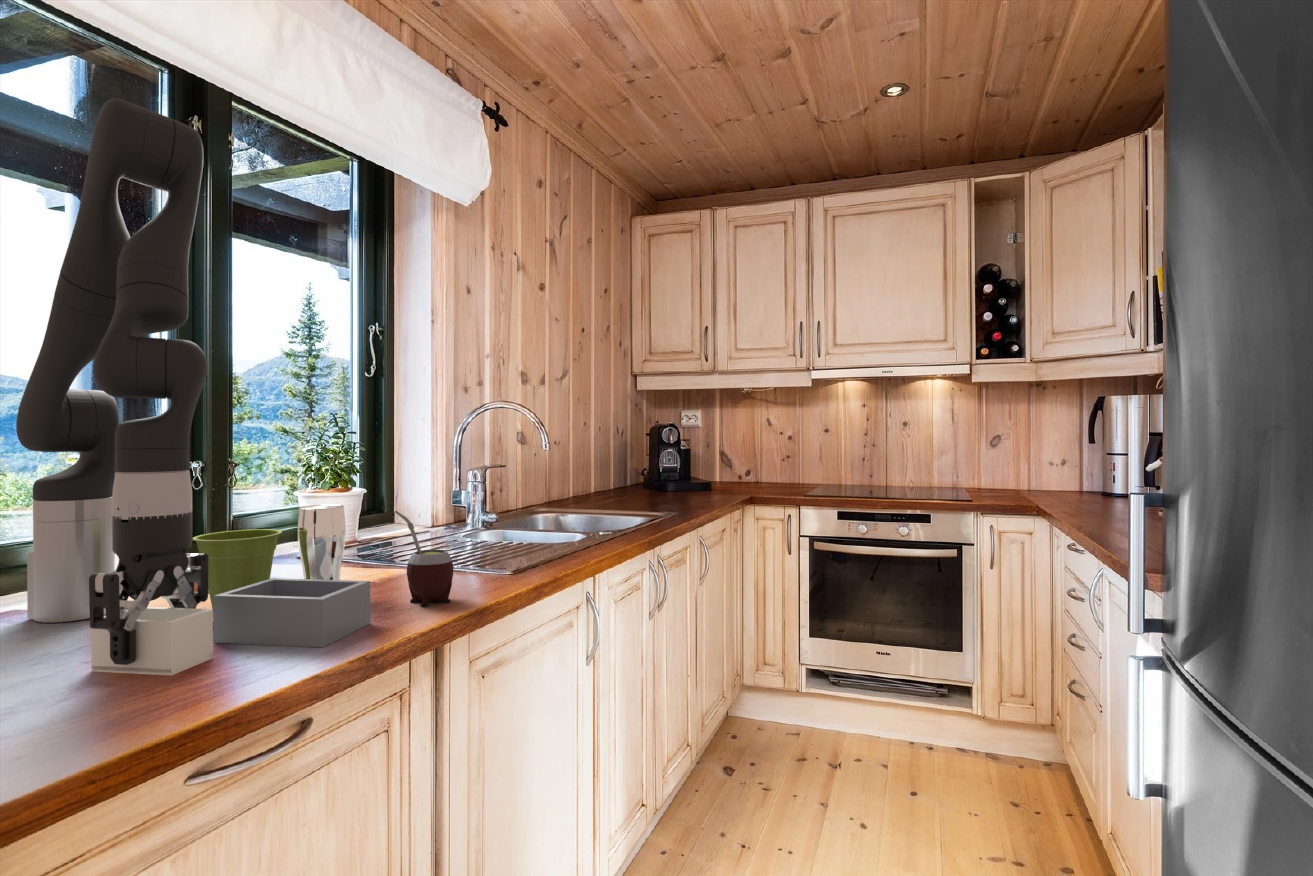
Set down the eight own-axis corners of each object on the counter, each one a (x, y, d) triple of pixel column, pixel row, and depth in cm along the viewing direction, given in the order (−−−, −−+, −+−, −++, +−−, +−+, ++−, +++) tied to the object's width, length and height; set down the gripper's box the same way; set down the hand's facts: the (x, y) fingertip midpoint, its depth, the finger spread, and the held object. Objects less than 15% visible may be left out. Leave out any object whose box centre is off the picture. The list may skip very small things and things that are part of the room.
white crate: (171, 676, 77) (171, 622, 77) (91, 672, 78) (91, 619, 78) (212, 659, 83) (212, 609, 83) (138, 656, 84) (137, 606, 84)
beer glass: (326, 605, 108) (326, 509, 108) (287, 603, 110) (287, 508, 110) (354, 595, 115) (354, 504, 115) (317, 593, 117) (317, 504, 116)
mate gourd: (459, 597, 114) (458, 505, 114) (442, 609, 106) (442, 510, 106) (413, 597, 114) (413, 505, 114) (394, 609, 106) (394, 510, 106)
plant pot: (245, 595, 115) (245, 527, 115) (299, 601, 111) (299, 530, 111) (173, 612, 104) (173, 537, 104) (231, 619, 100) (230, 541, 100)
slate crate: (322, 647, 87) (322, 599, 87) (213, 642, 89) (213, 595, 89) (370, 623, 98) (370, 581, 98) (272, 620, 100) (272, 578, 100)
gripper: (174, 504, 88) (175, 634, 88) (64, 517, 74) (65, 672, 74) (228, 504, 87) (229, 636, 87) (127, 518, 73) (128, 675, 73)
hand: (153, 652), depth 81 cm, fingers open, 7 cm apart
